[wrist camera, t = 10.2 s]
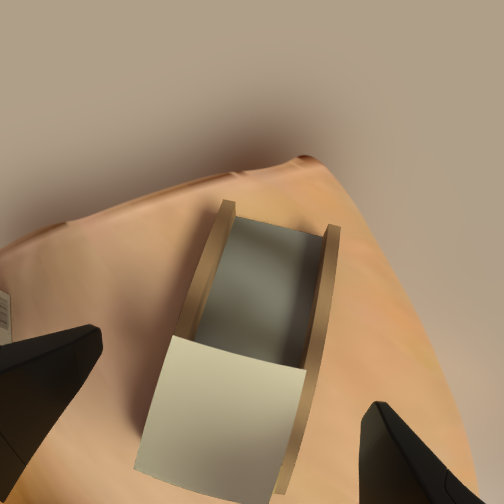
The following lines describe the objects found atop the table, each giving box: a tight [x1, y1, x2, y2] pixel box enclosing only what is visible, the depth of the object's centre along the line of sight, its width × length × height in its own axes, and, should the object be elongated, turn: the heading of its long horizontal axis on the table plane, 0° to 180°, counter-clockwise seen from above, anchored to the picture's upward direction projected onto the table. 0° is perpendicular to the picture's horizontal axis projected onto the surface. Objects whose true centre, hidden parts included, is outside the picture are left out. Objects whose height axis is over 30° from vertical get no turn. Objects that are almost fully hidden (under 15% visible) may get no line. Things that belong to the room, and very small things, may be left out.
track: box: [173, 199, 341, 495], centre depth 18 cm, size 20×10×5 cm, turn 166°
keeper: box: [134, 335, 307, 504], centre depth 12 cm, size 5×4×11 cm
